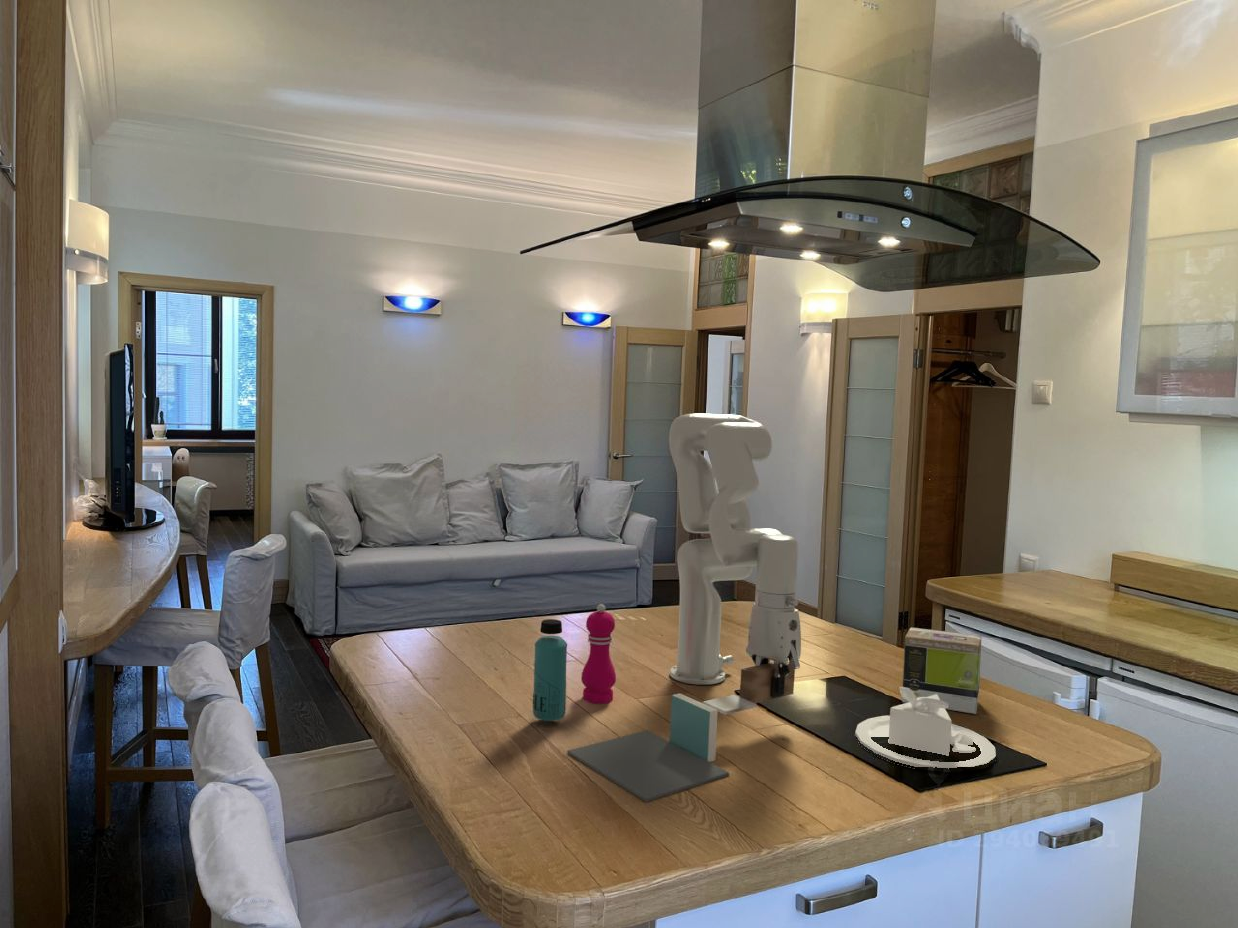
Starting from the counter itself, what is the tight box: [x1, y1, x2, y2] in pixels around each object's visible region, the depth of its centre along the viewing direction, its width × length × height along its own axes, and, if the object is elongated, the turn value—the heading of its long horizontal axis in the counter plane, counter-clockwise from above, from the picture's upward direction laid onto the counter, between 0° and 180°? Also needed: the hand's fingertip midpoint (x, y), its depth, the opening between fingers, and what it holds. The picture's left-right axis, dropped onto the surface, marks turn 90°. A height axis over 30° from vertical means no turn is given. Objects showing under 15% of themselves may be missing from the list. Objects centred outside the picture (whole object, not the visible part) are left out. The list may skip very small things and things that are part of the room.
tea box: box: [901, 626, 982, 715], centre depth 186 cm, size 15×10×15 cm, turn 65°
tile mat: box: [567, 729, 730, 803], centre depth 149 cm, size 18×22×1 cm
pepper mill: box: [581, 603, 617, 705], centre depth 180 cm, size 7×7×20 cm
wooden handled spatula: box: [702, 661, 796, 716], centre depth 164 cm, size 20×6×6 cm, turn 127°
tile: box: [669, 692, 719, 763], centre depth 155 cm, size 2×10×9 cm, turn 37°
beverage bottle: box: [532, 618, 568, 722], centre depth 166 cm, size 6×7×20 cm
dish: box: [854, 686, 997, 769], centre depth 162 cm, size 25×25×11 cm
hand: (770, 692), depth 167 cm, fingers closed on wooden handled spatula, 2 cm apart
